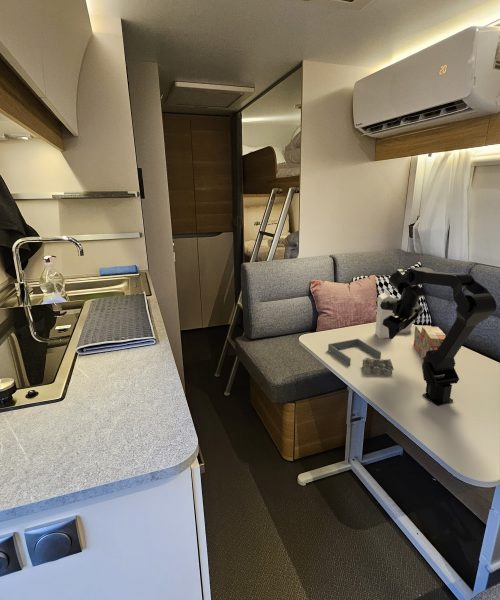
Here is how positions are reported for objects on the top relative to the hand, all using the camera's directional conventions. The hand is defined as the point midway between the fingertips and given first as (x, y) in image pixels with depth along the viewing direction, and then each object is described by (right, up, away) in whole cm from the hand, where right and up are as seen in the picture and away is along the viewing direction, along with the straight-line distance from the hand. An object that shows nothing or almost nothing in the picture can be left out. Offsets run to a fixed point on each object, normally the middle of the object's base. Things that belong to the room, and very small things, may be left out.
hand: (396, 333), depth 130 cm
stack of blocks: (+17, -10, +11) cm, 23 cm away
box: (-12, -10, +13) cm, 21 cm away
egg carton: (-7, -14, 0) cm, 16 cm away
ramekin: (+17, -2, +38) cm, 42 cm away
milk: (+7, -4, +32) cm, 33 cm away
